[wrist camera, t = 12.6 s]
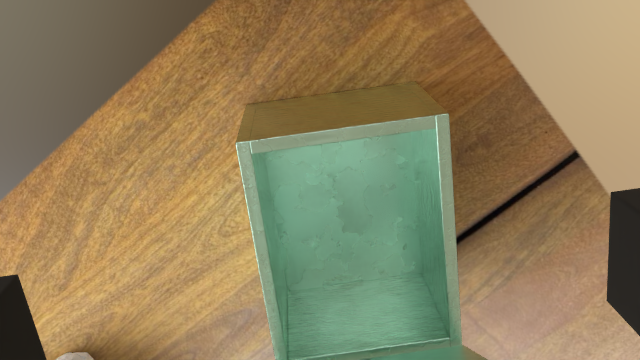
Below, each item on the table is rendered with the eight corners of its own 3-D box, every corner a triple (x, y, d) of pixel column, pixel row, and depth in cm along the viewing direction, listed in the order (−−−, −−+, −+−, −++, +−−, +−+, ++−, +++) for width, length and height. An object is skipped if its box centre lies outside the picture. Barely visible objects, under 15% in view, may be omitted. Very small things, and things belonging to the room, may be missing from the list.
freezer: (246, 104, 49) (235, 142, 39) (415, 81, 49) (449, 113, 39) (279, 295, 55) (277, 372, 45) (430, 274, 56) (462, 346, 45)
